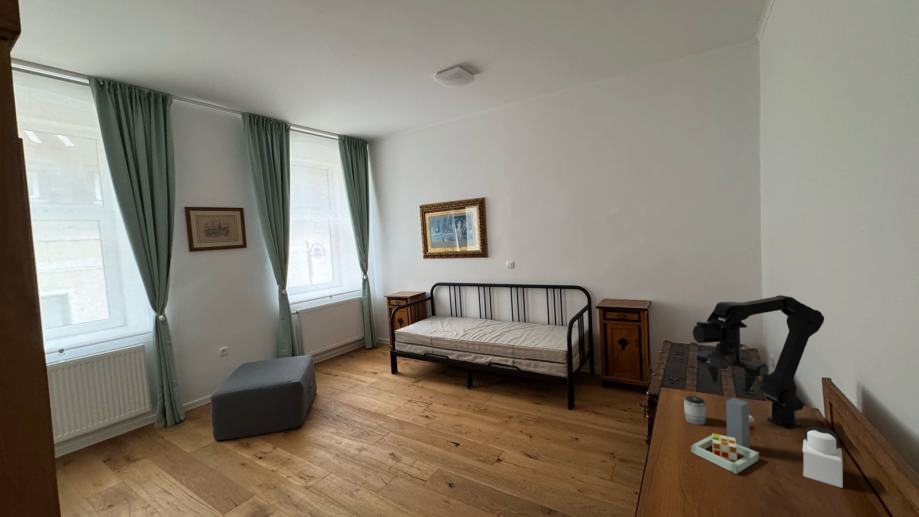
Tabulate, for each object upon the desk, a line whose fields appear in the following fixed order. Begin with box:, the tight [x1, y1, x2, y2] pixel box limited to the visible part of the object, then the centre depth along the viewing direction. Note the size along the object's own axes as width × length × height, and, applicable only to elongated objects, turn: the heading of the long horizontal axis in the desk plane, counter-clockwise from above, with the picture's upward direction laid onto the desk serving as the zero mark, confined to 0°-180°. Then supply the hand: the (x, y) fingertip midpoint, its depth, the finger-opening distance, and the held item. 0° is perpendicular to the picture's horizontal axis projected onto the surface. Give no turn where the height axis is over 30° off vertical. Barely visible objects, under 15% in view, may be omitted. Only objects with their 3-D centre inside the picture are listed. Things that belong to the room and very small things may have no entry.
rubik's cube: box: [711, 432, 738, 463], centre depth 103 cm, size 6×6×6 cm
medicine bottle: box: [802, 426, 844, 489], centre depth 94 cm, size 7×7×12 cm
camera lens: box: [683, 395, 707, 426], centre depth 124 cm, size 6×6×8 cm
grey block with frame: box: [690, 397, 760, 475], centre depth 105 cm, size 15×12×14 cm
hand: (730, 387), depth 119 cm, fingers open, 9 cm apart
